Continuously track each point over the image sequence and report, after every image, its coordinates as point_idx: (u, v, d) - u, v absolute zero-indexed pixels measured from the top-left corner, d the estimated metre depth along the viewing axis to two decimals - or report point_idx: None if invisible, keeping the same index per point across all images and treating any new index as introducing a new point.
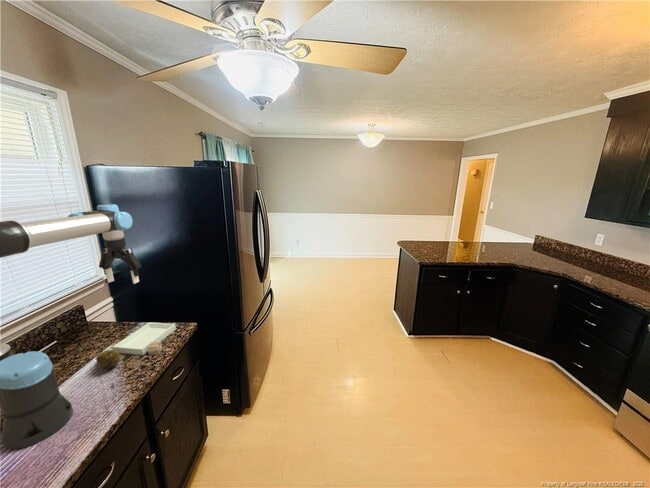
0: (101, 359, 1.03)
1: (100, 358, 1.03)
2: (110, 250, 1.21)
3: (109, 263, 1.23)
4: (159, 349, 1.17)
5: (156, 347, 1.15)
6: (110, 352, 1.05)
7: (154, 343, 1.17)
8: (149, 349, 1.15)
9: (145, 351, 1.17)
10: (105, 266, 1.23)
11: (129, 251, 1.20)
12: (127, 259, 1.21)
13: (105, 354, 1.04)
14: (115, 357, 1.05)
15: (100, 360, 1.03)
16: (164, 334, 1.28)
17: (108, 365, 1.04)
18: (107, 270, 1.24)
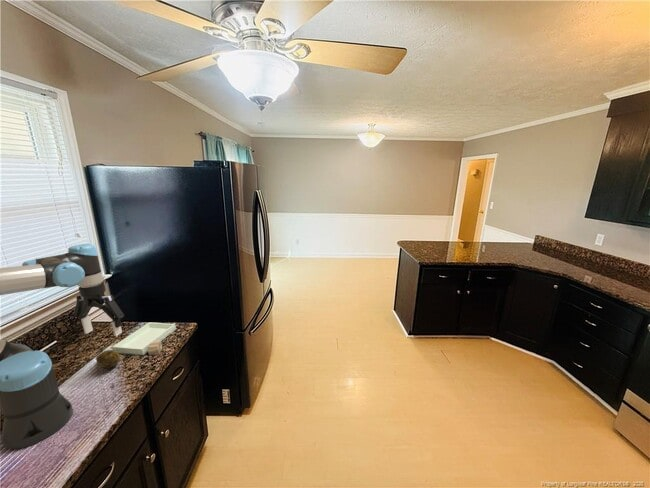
0: (101, 359, 1.03)
1: (100, 358, 1.03)
2: (86, 297, 1.01)
3: (86, 311, 1.04)
4: (159, 349, 1.17)
5: (156, 347, 1.15)
6: (110, 352, 1.05)
7: (154, 343, 1.17)
8: (149, 349, 1.15)
9: (145, 351, 1.17)
10: (81, 315, 1.04)
11: (109, 299, 1.01)
12: (107, 308, 1.02)
13: (105, 354, 1.04)
14: (115, 357, 1.05)
15: (100, 360, 1.03)
16: (164, 334, 1.28)
17: (108, 365, 1.04)
18: (84, 320, 1.05)
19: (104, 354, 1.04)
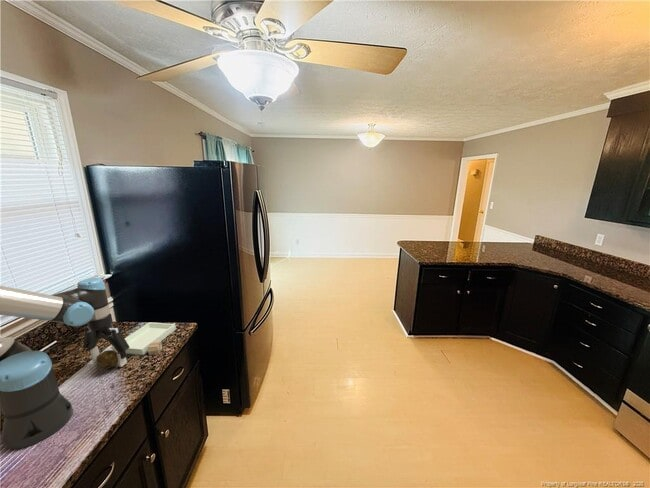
0: (101, 359, 1.03)
1: (100, 358, 1.03)
2: None
3: (94, 343, 1.08)
4: (159, 349, 1.17)
5: (156, 347, 1.15)
6: (110, 352, 1.05)
7: (154, 343, 1.17)
8: (149, 349, 1.15)
9: (145, 351, 1.17)
10: (90, 347, 1.07)
11: (116, 331, 1.04)
12: (113, 339, 1.06)
13: (105, 354, 1.04)
14: (115, 357, 1.05)
15: (100, 360, 1.03)
16: (164, 334, 1.28)
17: (108, 365, 1.04)
18: (92, 351, 1.08)
19: (104, 354, 1.04)
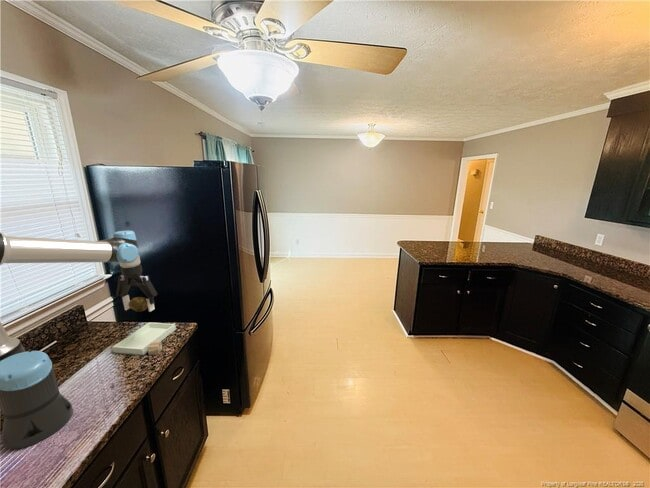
0: (133, 303, 1.15)
1: (132, 302, 1.16)
2: (126, 277, 1.17)
3: (126, 290, 1.20)
4: (159, 349, 1.17)
5: (156, 347, 1.15)
6: (140, 298, 1.18)
7: (154, 343, 1.17)
8: (149, 349, 1.15)
9: (145, 351, 1.17)
10: (122, 294, 1.20)
11: (146, 279, 1.17)
12: (143, 286, 1.18)
13: (136, 299, 1.17)
14: (145, 302, 1.18)
15: (132, 303, 1.15)
16: (164, 334, 1.28)
17: (139, 309, 1.17)
18: (124, 298, 1.21)
19: (136, 299, 1.17)
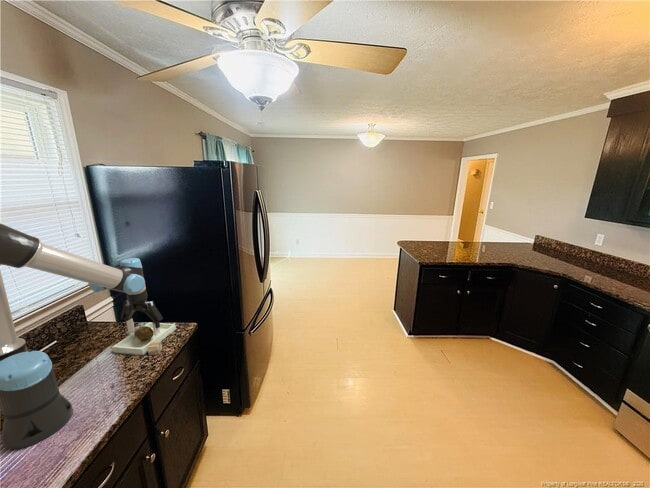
0: (138, 333, 1.19)
1: (137, 332, 1.19)
2: (132, 303, 1.21)
3: (130, 315, 1.23)
4: (159, 349, 1.17)
5: (156, 347, 1.15)
6: (145, 328, 1.21)
7: (154, 343, 1.17)
8: (149, 349, 1.15)
9: (145, 351, 1.17)
10: (127, 318, 1.23)
11: (151, 304, 1.20)
12: (149, 311, 1.21)
13: (141, 329, 1.20)
14: (149, 332, 1.21)
15: (137, 334, 1.19)
16: (164, 334, 1.28)
17: (144, 339, 1.20)
18: (128, 321, 1.24)
19: (141, 329, 1.20)
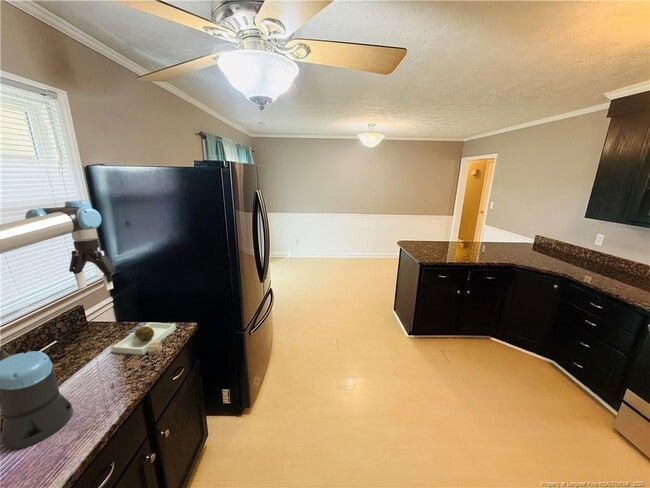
0: (139, 333, 1.19)
1: (138, 332, 1.19)
2: (81, 252, 1.07)
3: (80, 267, 1.10)
4: (159, 349, 1.17)
5: (156, 347, 1.15)
6: (146, 328, 1.22)
7: (154, 343, 1.17)
8: (149, 349, 1.15)
9: (145, 351, 1.17)
10: (76, 270, 1.09)
11: (102, 254, 1.06)
12: (100, 263, 1.07)
13: (142, 329, 1.20)
14: (150, 332, 1.21)
15: (138, 334, 1.19)
16: (164, 334, 1.28)
17: (144, 339, 1.20)
18: (78, 275, 1.10)
19: (141, 329, 1.20)
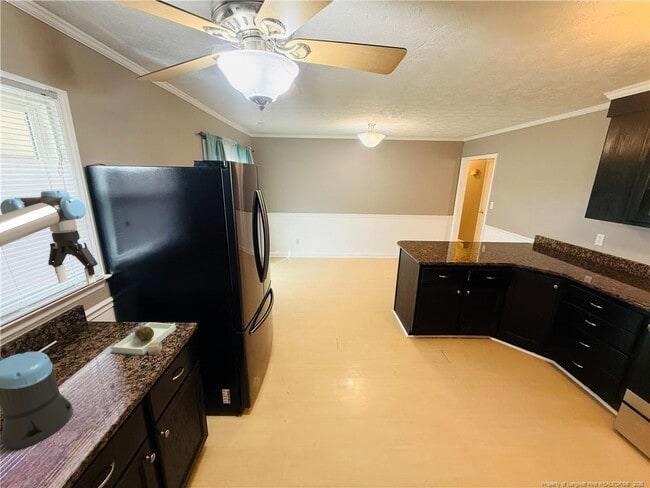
0: (139, 333, 1.19)
1: (138, 332, 1.19)
2: (60, 245, 1.03)
3: (60, 260, 1.06)
4: (159, 349, 1.17)
5: (156, 347, 1.15)
6: (146, 328, 1.22)
7: (154, 343, 1.17)
8: (149, 349, 1.15)
9: (145, 351, 1.17)
10: (55, 263, 1.05)
11: (82, 246, 1.02)
12: (80, 255, 1.04)
13: (142, 329, 1.20)
14: (150, 332, 1.21)
15: (138, 334, 1.19)
16: (164, 334, 1.28)
17: (144, 339, 1.20)
18: (58, 268, 1.06)
19: (141, 329, 1.20)
